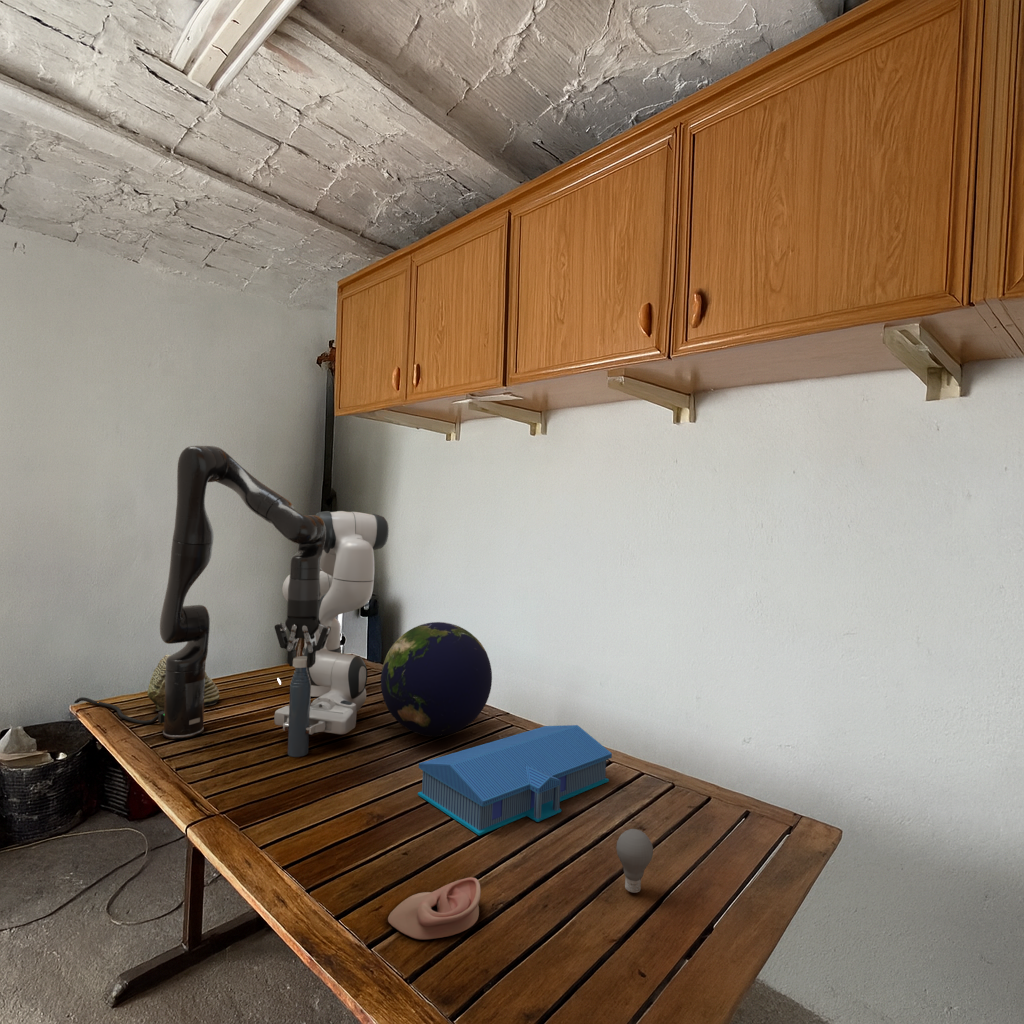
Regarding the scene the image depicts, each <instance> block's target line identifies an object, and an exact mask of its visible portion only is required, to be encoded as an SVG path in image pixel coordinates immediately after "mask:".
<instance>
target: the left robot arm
mask: <svg viewBox="0 0 1024 1024" xmlns="http://www.w3.org/2000/svg"><path fill="white" fill-rule="evenodd" d="M176 470H177V472H176V474H177V477H176V508H175V520H174V528H173V533H172V541H171V549H170V560H169V571H168V579H167V585H166V590H165V595H164V600H163V603H162V608H161V614H160V618H159V634H160V635H159V636H160V638H161V640H162V641H163V642H164V644H169V645H172V644H180V643H181V644H183V643H186V644H185V645H184V646H183V647H182V648H181V649H180V650H178V651H176V652H174V653H172V654H170V655H171V656H169V657H168V658H167V660H166V674H165V705H164V710H162V711H158V712H157V715H155V716H154V717H153V718H152V719H148V720H141V719H137V718H133V717H130V716H128V715H125V714H124V713H123V711H122V710H121V708H120V707H119V706H117V705H115V704H111V703H108V702H103V701H102V702H101V701H98V700H94V699H91V698H89V697H83V696H81V697H78V698H77V699H76V700H74V701H73V704H78V703H80V702H86V703H89V704H91V705H95V706H101V707H105V708H109V709H112V710H114V711H115V712H116V713H117V715H118V717H119V718H120V719H122V720H125V721H127V722H130V723H133V724H140V725H151V724H154V723H156V722H157V721H158V722H159V723H160V724H163V730H162V737H164V738H166V739H169V740H185V739H190V738H191V739H192V738H194V737H197V736H199V735H202V734H203V732H204V730H205V729H204V726H205V725H204V722H205V721H204V718H205V706H204V693H205V672H206V664H207V663H206V662H207V658H208V653H209V652H208V651H209V641H210V640H209V639H210V631H211V617H210V613H209V610H208V608H207V607H206V606H205V605H203V604H192V605H191V604H190V605H184V603H185V600H186V597H187V594H188V593H189V591H190V589H191V587H192V586H193V585H194V584H195V582H196V581H197V580H198V579H199V577H200V576H201V575H202V573H204V571H205V570H206V568H207V567H208V565H209V563H210V561H211V559H212V553H213V545H214V530H213V526H212V523H211V521H210V518H209V516H208V513H207V510H206V504H205V503H206V502H205V501H206V492H207V486H208V483H217V484H220V485H223V486H225V487H226V488H229V489H231V490H232V491H233V492H235V493H236V495H238V496H239V497H240V499H241V500H242V502H243V503H244V505H245V506H246V507H247V509H249V510H250V511H251V512H253V513H254V514H255V515H257V516H258V517H260V518H261V519H263V520H264V521H266V522H267V523H269V524H271V525H272V526H273V527H274V528H275V530H277V531H278V532H279V533H280V534H281V535H282V536H283V537H284V538H285V539H287V540H288V541H289V542H291V543H294V544H296V545H297V550H296V553H295V554H293V555H292V556H291V558H290V562H289V575H290V579H289V585H288V602H287V604H286V605H287V608H286V609H287V610H286V615H287V617H286V620H285V621H284V622H280V623H277V624H275V625H274V630H275V631H274V632H275V634H276V638H277V641H278V644H279V647H280V649H284V650H286V652H287V662H286V663H287V665H289V667H293V658H294V657H297V649H296V648H297V645H298V642H299V640H300V639H303V640H304V643H305V642H306V644H307V647H308V653H307V668H311V667H312V666H313V665H314V664H315V659H316V651H319V650H320V649H322V648H324V645H325V643H326V640H327V638H328V635H329V633H330V630H331V627H330V626H324V625H322V624H321V623H320V620H319V609H320V595H321V593H320V571H321V569H320V559H321V556H322V552H323V548H324V544H325V539H326V527H325V523H324V521H323V520H322V519H321V518H320V517H318V516H315V515H316V514H306V515H305V514H302V513H300V512H299V511H297V510H296V509H295V507H294V505H293V503H292V502H290V501H289V500H288V499H287V498H285V497H284V496H282V495H281V494H279V493H277V492H276V491H275V490H273V489H271V488H270V487H268V486H267V485H265V484H264V483H263V482H261V481H259V480H258V479H257V478H256V477H255V476H254V475H252V474H250V472H249V471H248V470H247V469H245V468H244V467H243V466H241V465H240V464H239V463H238V461H236V460H235V459H234V458H233V457H232V456H231V455H229V454H228V453H227V452H226V451H225V450H224V449H222V448H220V447H219V446H215V445H190V446H188V447H185V448H184V449H183V450H182V451H181V452H180V454H179V457H178V460H177V469H176ZM318 628H319V633H320V634H321V635H320V637H319V640H318V642H317V645H316V637H315V632H316V631H317V630H318ZM287 630H288V631H289V633H290V634H289V637H288V635H287V632H286V631H287ZM293 668H294V667H293ZM97 702H99V703H97Z"/></svg>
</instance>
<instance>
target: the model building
mask: <svg viewBox="0 0 1024 1024" xmlns="http://www.w3.org/2000/svg"><path fill="white" fill-rule="evenodd" d="M612 758H613V753H612V752H611V751H610V750H609V749H608V748H606V747H605V746H604V745H603V744H601V743H600V742H599V741H597V740H596V739H595V738H594V737H593V736H591V735H590V733H588V732H587V731H586V730H584V729H583V728H582V727H581V726H579V725H578V724H571V725H569V724H567V725H544V726H541V727H538V728H533V729H530V730H526V731H524V732H520V733H517V734H514V735H510V736H505V737H504V738H500V739H497V740H493V741H489V742H486V743H484V744H480V745H476V746H473V747H469V748H466V749H463V750H459V751H457V752H456V751H455V752H452V753H449V754H446V755H442V756H439V757H436V758H432V759H428V760H425V761H422V762H418V769H420V770H421V771H422V782H421V783H422V785H421V791H419V792H417V796H419V797H420V798H421V799H423V800H425V802H428V803H429V804H431V805H432V806H433V807H435V808H436V809H438V810H439V811H441V812H443V813H444V814H445V815H447V816H449V817H450V818H452V819H453V820H455V821H456V822H458V823H459V824H461V825H462V826H464V827H465V828H467V829H468V830H470V831H471V832H473V833H474V834H476V835H477V836H478V837H480V836H482V835H485V834H487V833H489V832H491V831H494V830H496V829H499V828H501V827H504V826H506V825H508V824H511V823H514V822H515V821H518V820H520V819H524V818H525V817H527V818H530V819H531V820H532V821H535V822H536V823H539V822H541V821H543V820H546V819H549V818H551V817H553V816H555V815H558V814H560V813H562V808H561V807H560V806H561V805H560V804H561V802H563V801H566V800H568V799H570V798H573V797H575V796H577V795H580V794H582V793H585V792H587V791H590V790H591V789H594V788H597V787H599V786H601V785H603V784H606V783H609V782H610V779H609V778H607V777H606V775H607V774H606V773H607V760H610V759H612Z"/></svg>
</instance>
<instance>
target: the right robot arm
mask: <svg viewBox="0 0 1024 1024" xmlns="http://www.w3.org/2000/svg"><path fill="white" fill-rule="evenodd" d="M314 515H315V516H318V517H320V518H321V519H322V520H323V521H324V523H325V527H326V539H325V544H324V548H323V552H322V556H321V559H320V593H321V595H320V609H319V620H320V623H321V624H322V625H324V626H330V627H331V630H330V633H329V635H328V638H327V640H326V643H325V645H324V648H322V649H320V650H319V651H316V659H315V664H314V665H313V666H312V667H311V668H307V671H308V674H309V677H310V680H311V697H312V698H313V697H314V698H315V697H316V698H315V699H313V700H312V702H310V725H309V726H307V727H306V734H309V736H310V735H314V734H316V733H328V734H335V735H346V734H348V733H350V732H351V731H352V730H354V729H355V728H356V725H357V714H358V713H357V712H358V711H359V710H360V709H362V707H363V705H364V704H365V702H366V700H367V690H366V686H367V682H368V668H367V665H366V663H365V661H364V659H363V658H362V657H361V656H360V655H356V654H350V653H345V652H342V646H341V623H340V621H339V619H337V618H336V617H337V616H339V615H342V614H345V613H350V612H353V611H356V610H359V609H361V608H363V607H364V606H365V605H366V604H367V603H369V601H370V600H371V599H372V595H373V591H374V585H375V584H374V581H375V552H374V551H375V550H380V549H383V548H384V546H385V545H386V544H387V542H388V538H389V533H390V529H389V523H388V521H387V519H386V518H385V517H384V516H382V515H380V514H376V513H372V514H371V513H365V512H359V511H345V510H337V511H330V510H325V511H319V512H316V514H314ZM289 579H290V574H288V575H287V576H286V577H285V579H284V581H283V582H282V583H283V584H282V595H283V597H284V599H285V601H286V602H287V603H288V585H289ZM320 635H321V634H320V633H319V628H318V630H317V631H316V632H315V637H316V645H317V642H318V640H319V637H320ZM307 653H308V647H307V644H306V642H305V641H304V645H303V647H302V656H307ZM277 682H278V684H279V686H280V685H282V681H281V679H280V678H279V677H277ZM273 720H274V725H275V726H280V727H282V731H284V732H288V726H289V704H288V705H286V706H283V707H281V708H278V709H276V710H275V711H274V719H273Z"/></svg>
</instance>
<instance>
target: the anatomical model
mask: <svg viewBox="0 0 1024 1024" xmlns="http://www.w3.org/2000/svg"><path fill="white" fill-rule="evenodd" d="M481 894H482V893H481V884H480V881H479V880H478V879H477V878H476V877H464V878H461V879H458V880H455V881H453V882H450V883H448V884H446V885H443V886H441V887H440V888H437V889H435V890H433V891H431V892H430V891H426V892H425V891H424V892H418V893H415V894H413V895H410V896H408V897H407V898H406V899H404V900H403V901H401V902H400V903H398V905H397V906H396V907H394V909H393V910H392V911H391V912H390V913H389V915H388V917H387V922H388V924H389V925H391V927H393V928H394V929H396V930H397V931H398V932H400V933H401V934H404V935H405V936H407V937H410V938H412V939H414V940H433V939H440V938H446V937H451V936H454V935H457V934H460V933H463V932H464V931H467V930H468V929H470V928H472V927H473V926H474V925H475V924H476V923H477V922H478V920H479V917H480V916H479V915H480V907H479V903H480V900H481Z"/></svg>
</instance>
